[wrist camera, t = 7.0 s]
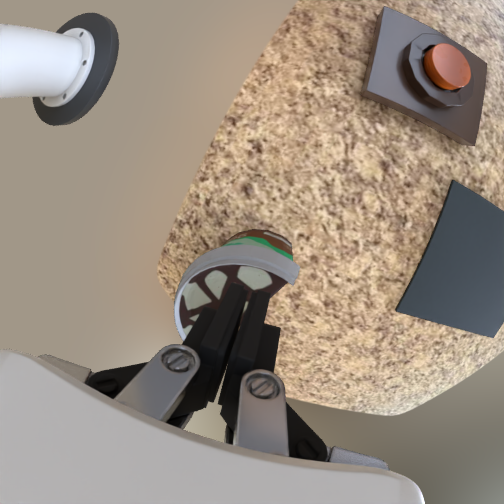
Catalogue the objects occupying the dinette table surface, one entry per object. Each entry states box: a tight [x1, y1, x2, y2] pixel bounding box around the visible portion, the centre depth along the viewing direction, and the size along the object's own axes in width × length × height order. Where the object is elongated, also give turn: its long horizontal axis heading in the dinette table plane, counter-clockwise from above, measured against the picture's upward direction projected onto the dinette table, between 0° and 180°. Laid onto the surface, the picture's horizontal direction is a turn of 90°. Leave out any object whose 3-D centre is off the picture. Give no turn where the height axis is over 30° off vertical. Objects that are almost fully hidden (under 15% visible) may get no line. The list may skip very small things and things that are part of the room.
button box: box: [360, 6, 487, 146], centre depth 17 cm, size 12×10×4 cm
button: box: [423, 43, 471, 90], centre depth 14 cm, size 4×4×2 cm
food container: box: [174, 229, 300, 342], centre depth 25 cm, size 12×6×10 cm, turn 140°
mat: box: [395, 180, 504, 338], centre depth 24 cm, size 20×16×1 cm
